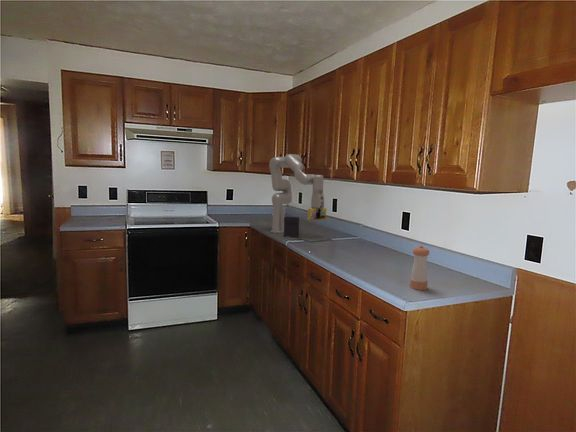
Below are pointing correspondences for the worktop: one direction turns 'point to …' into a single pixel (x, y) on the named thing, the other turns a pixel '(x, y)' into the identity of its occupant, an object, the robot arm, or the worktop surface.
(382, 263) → the worktop surface
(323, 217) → the candy box
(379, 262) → the worktop surface
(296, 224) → the calculator
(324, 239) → the mat
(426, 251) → the pepper shaker
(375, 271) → the worktop surface
